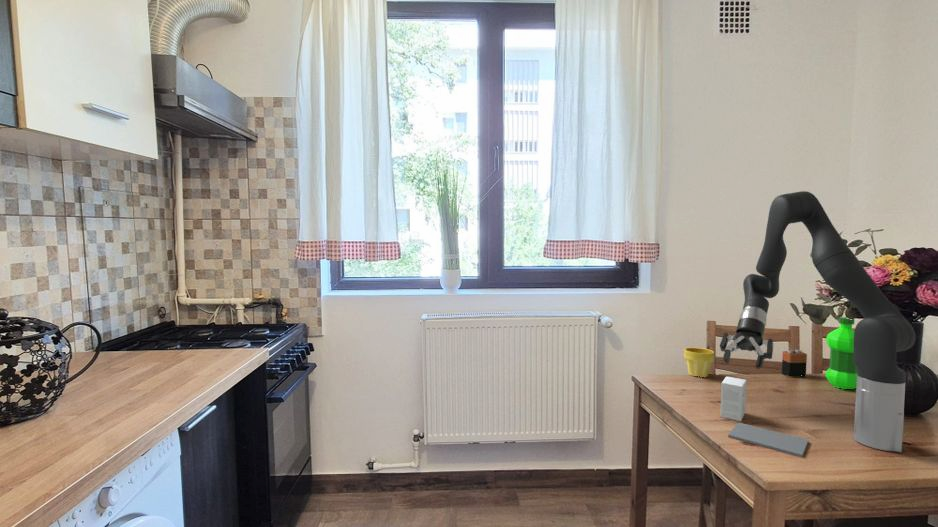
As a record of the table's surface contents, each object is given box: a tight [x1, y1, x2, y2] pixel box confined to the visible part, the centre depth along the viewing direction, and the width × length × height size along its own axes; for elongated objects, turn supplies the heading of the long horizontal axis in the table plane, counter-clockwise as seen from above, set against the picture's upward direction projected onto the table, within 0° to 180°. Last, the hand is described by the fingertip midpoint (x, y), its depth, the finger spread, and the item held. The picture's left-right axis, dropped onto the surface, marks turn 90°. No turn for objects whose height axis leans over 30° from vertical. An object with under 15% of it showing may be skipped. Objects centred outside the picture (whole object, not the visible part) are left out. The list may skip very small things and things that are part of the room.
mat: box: [727, 422, 809, 458], centre depth 118 cm, size 16×11×1 cm
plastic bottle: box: [825, 316, 857, 390], centre depth 158 cm, size 10×10×25 cm
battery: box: [781, 349, 808, 377], centre depth 172 cm, size 4×7×10 cm, turn 93°
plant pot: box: [683, 346, 715, 378], centre depth 173 cm, size 10×10×10 cm
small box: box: [719, 376, 747, 422], centre depth 134 cm, size 8×6×10 cm
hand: (741, 364), depth 140 cm, fingers open, 8 cm apart
